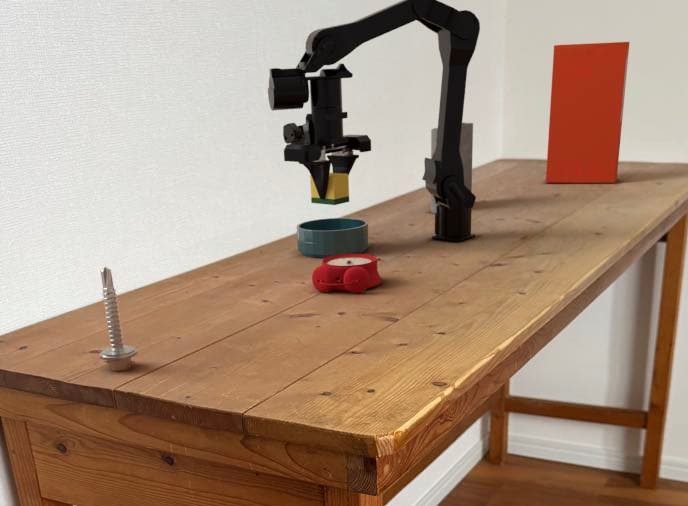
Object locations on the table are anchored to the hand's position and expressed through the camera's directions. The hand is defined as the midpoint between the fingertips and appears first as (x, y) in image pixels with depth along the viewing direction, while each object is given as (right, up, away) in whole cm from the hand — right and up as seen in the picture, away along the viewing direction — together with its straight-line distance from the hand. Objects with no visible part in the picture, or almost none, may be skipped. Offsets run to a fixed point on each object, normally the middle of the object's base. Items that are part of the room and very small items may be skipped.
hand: (330, 197), depth 179 cm
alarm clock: (+3, -23, -23) cm, 33 cm away
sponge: (0, -1, 0) cm, 1 cm away
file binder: (+66, +29, +68) cm, 99 cm away
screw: (-28, -43, -56) cm, 76 cm away
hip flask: (+28, +13, +42) cm, 52 cm away
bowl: (+1, -9, +4) cm, 10 cm away
